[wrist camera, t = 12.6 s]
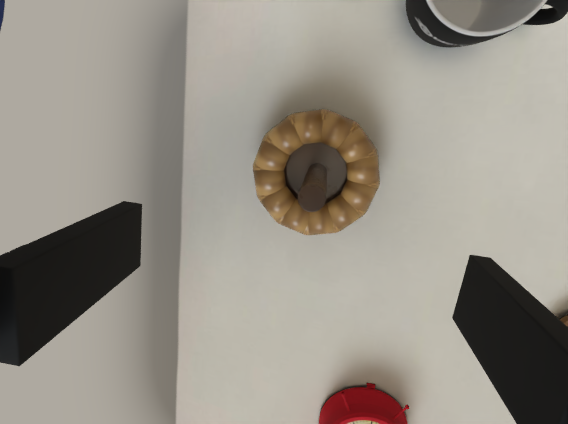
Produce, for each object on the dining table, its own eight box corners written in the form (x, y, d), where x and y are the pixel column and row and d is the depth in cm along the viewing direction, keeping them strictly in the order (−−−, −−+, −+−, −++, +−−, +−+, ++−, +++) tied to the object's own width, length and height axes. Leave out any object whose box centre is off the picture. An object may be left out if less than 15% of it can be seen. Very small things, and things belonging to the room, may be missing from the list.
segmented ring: (233, 160, 39) (226, 164, 36) (329, 84, 36) (329, 81, 33) (304, 250, 40) (302, 260, 38) (401, 184, 38) (406, 190, 35)
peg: (263, 163, 40) (233, 186, 27) (325, 115, 38) (324, 116, 25) (309, 223, 41) (300, 272, 28) (372, 179, 39) (392, 210, 26)
